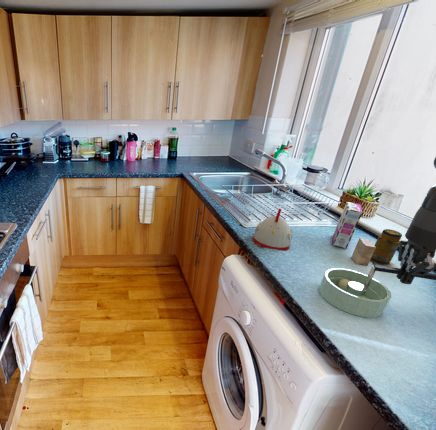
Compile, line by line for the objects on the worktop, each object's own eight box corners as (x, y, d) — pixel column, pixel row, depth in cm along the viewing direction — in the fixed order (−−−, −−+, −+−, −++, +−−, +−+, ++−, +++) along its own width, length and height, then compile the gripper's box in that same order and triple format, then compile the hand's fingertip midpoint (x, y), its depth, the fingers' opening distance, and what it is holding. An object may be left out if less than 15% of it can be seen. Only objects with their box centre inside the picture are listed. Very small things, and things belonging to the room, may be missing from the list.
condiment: (383, 256, 111) (397, 228, 106) (399, 268, 103) (414, 239, 98) (362, 254, 112) (375, 226, 107) (376, 266, 104) (390, 237, 99)
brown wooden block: (360, 258, 109) (369, 239, 105) (366, 267, 104) (376, 247, 100) (351, 257, 110) (359, 238, 106) (356, 265, 105) (365, 245, 101)
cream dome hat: (249, 244, 117) (257, 210, 111) (255, 231, 128) (263, 200, 121) (287, 254, 110) (299, 220, 104) (290, 240, 121) (301, 207, 114)
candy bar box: (347, 249, 115) (363, 212, 108) (332, 245, 117) (346, 209, 110) (346, 238, 123) (361, 203, 116) (332, 235, 126) (346, 200, 119)
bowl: (369, 291, 91) (377, 274, 89) (392, 326, 78) (402, 307, 75) (312, 279, 96) (319, 263, 94) (325, 310, 83) (333, 293, 80)
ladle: (348, 294, 84) (359, 267, 80) (344, 285, 88) (354, 259, 84) (433, 309, 78) (449, 281, 74) (424, 299, 82) (439, 271, 78)
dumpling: (340, 284, 93) (346, 275, 91) (351, 292, 90) (357, 283, 88) (333, 286, 92) (338, 277, 90) (344, 294, 89) (350, 285, 87)
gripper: (470, 240, 66) (434, 299, 73) (435, 217, 77) (407, 270, 84) (428, 235, 68) (397, 292, 75) (400, 213, 80) (376, 265, 87)
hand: (402, 280), depth 80 cm, fingers closed on ladle, 1 cm apart
